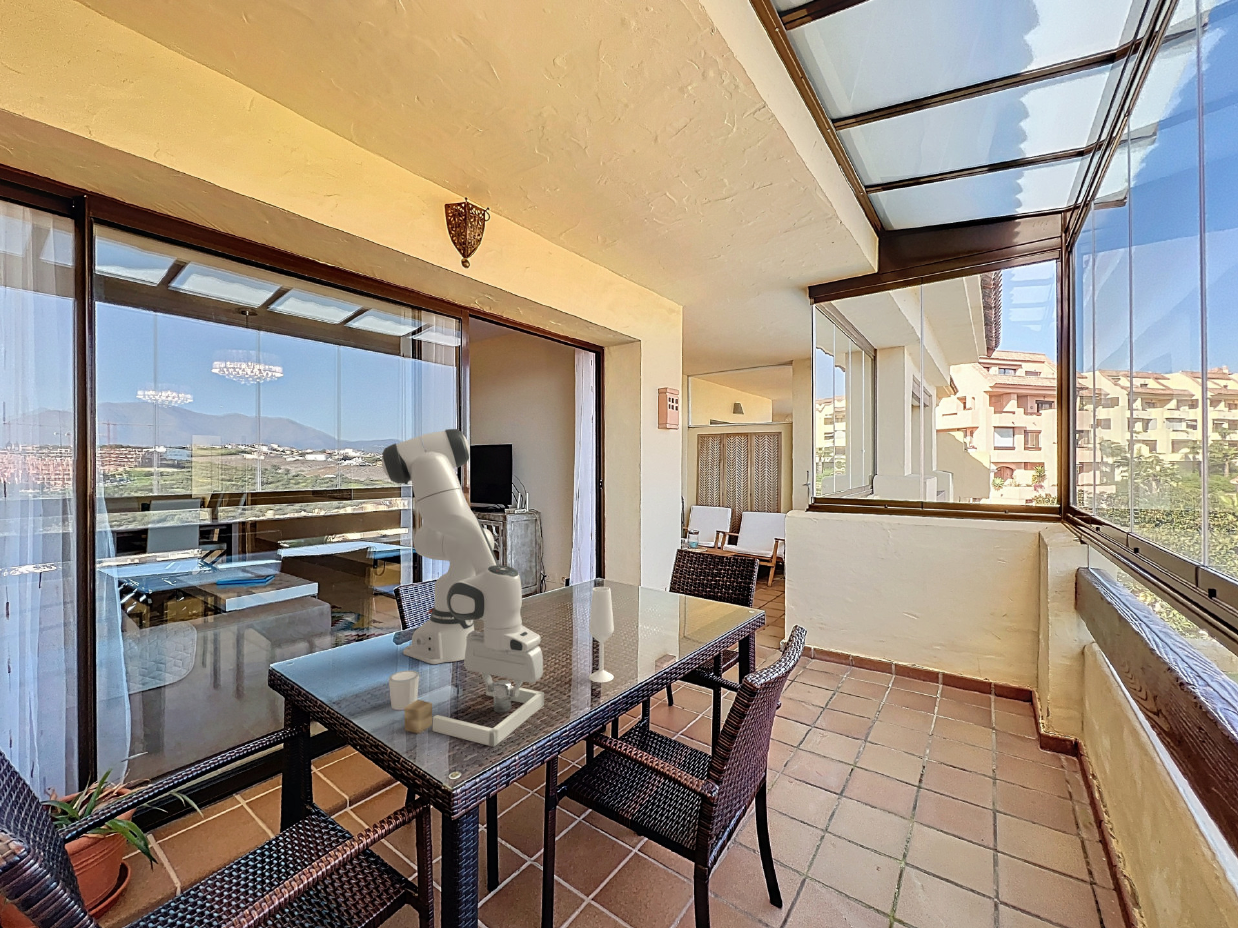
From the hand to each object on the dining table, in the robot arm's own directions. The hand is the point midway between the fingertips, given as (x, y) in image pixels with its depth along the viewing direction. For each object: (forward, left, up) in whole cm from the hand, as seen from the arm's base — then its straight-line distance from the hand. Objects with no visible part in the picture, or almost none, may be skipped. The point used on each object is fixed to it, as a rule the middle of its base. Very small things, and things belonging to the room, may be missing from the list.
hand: (502, 693), depth 126 cm
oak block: (-12, -15, -4) cm, 19 cm away
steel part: (0, 0, -4) cm, 4 cm away
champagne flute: (+14, +25, -4) cm, 29 cm away
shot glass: (-23, -8, -4) cm, 25 cm away
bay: (0, -5, -4) cm, 6 cm away
